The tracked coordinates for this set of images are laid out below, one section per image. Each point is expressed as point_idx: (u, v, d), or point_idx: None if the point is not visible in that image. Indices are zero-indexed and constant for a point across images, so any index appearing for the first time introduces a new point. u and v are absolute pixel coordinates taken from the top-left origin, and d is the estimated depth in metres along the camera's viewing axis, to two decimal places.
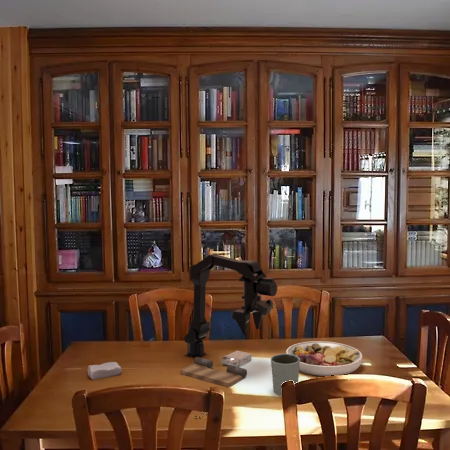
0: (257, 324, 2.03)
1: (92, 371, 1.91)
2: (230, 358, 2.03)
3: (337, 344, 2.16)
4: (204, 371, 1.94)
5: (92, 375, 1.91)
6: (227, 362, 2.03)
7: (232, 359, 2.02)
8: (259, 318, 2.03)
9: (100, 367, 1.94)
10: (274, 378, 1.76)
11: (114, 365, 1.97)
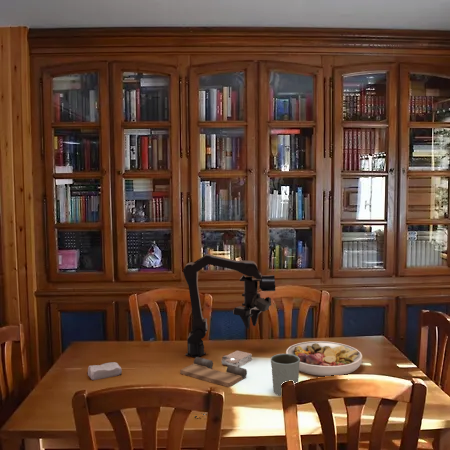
0: (254, 321, 2.17)
1: (92, 371, 1.91)
2: (230, 358, 2.03)
3: (337, 344, 2.16)
4: (204, 371, 1.94)
5: (92, 375, 1.91)
6: (227, 362, 2.03)
7: (232, 359, 2.02)
8: (256, 315, 2.16)
9: (100, 367, 1.94)
10: (274, 378, 1.76)
11: (114, 365, 1.97)
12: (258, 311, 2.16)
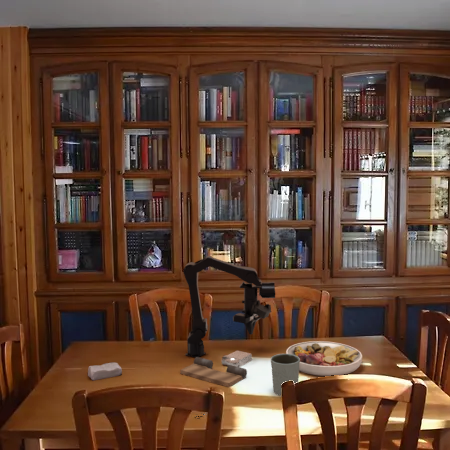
0: None
1: (92, 372, 1.91)
2: (230, 358, 2.03)
3: (337, 344, 2.16)
4: (204, 371, 1.94)
5: (92, 376, 1.90)
6: (227, 362, 2.03)
7: (232, 359, 2.02)
8: (253, 323, 2.15)
9: (100, 368, 1.93)
10: (274, 378, 1.76)
11: (114, 366, 1.96)
12: (255, 319, 2.14)
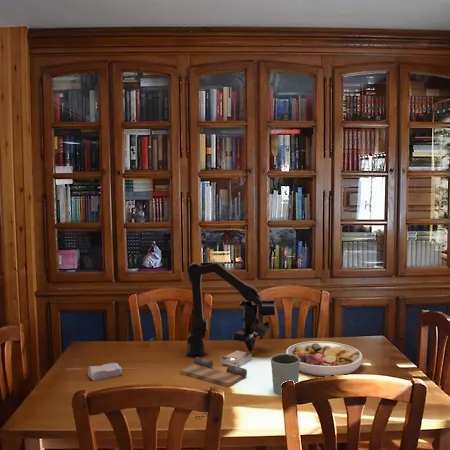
0: None
1: (93, 372, 1.90)
2: (230, 358, 2.03)
3: (337, 344, 2.16)
4: (204, 371, 1.94)
5: (93, 376, 1.90)
6: (227, 362, 2.03)
7: (232, 359, 2.02)
8: None
9: (101, 368, 1.93)
10: (274, 378, 1.76)
11: (115, 366, 1.96)
12: None
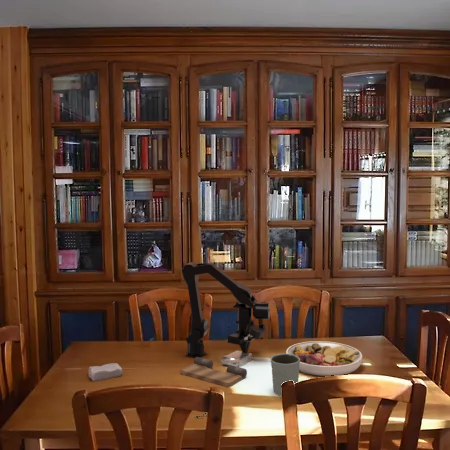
0: None
1: (93, 372, 1.90)
2: (230, 358, 2.03)
3: (337, 344, 2.16)
4: (204, 371, 1.94)
5: (93, 376, 1.90)
6: (227, 362, 2.03)
7: (232, 359, 2.02)
8: (247, 344, 2.12)
9: (101, 368, 1.92)
10: (274, 378, 1.76)
11: (115, 366, 1.95)
12: (249, 339, 2.11)
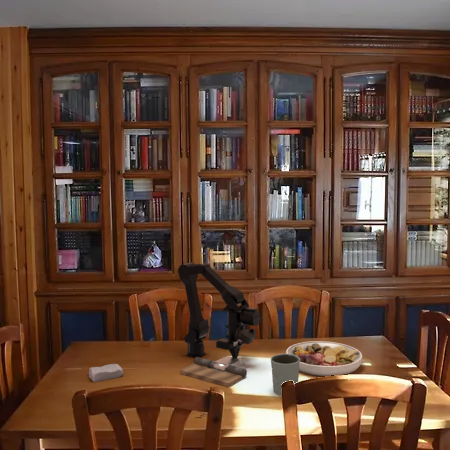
0: None
1: (94, 373, 1.89)
2: (218, 364, 1.97)
3: (337, 344, 2.16)
4: (204, 371, 1.94)
5: (94, 377, 1.89)
6: (215, 368, 1.97)
7: (220, 365, 1.96)
8: (237, 349, 2.06)
9: (102, 369, 1.92)
10: (274, 378, 1.76)
11: (116, 367, 1.95)
12: (239, 344, 2.05)
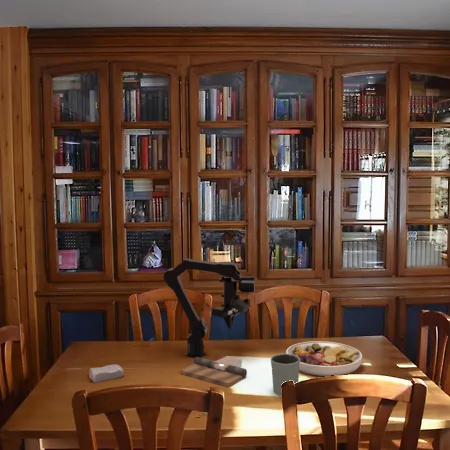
0: None
1: (94, 374, 1.89)
2: (218, 364, 1.97)
3: (337, 344, 2.16)
4: (204, 371, 1.94)
5: (94, 378, 1.88)
6: (215, 368, 1.97)
7: (220, 365, 1.96)
8: (232, 318, 2.14)
9: (102, 370, 1.91)
10: (274, 378, 1.76)
11: (116, 368, 1.94)
12: (234, 313, 2.14)
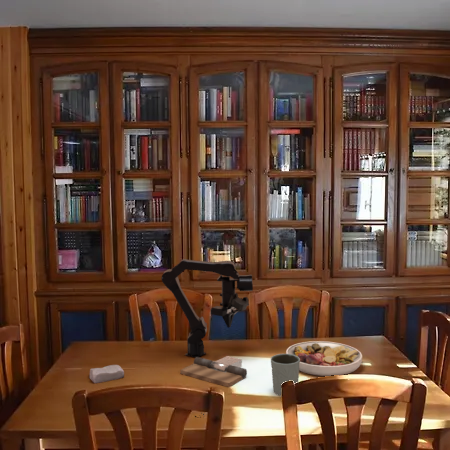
0: None
1: (94, 374, 1.88)
2: (218, 364, 1.97)
3: (337, 344, 2.16)
4: (204, 371, 1.94)
5: (94, 378, 1.88)
6: (215, 368, 1.97)
7: (220, 365, 1.96)
8: (231, 316, 2.15)
9: (102, 370, 1.91)
10: (274, 378, 1.76)
11: (117, 368, 1.94)
12: (233, 312, 2.15)
